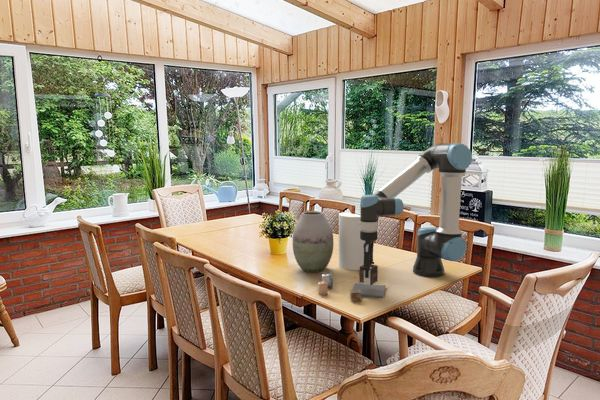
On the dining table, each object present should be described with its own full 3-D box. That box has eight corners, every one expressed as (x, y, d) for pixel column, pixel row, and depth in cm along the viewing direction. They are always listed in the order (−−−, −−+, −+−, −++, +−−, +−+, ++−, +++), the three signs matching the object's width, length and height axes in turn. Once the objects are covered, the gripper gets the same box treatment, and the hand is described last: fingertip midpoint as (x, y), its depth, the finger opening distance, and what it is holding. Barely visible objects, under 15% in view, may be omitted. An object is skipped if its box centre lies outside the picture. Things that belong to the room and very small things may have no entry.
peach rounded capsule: (328, 292, 187) (328, 281, 186) (326, 295, 183) (326, 284, 182) (319, 291, 188) (319, 281, 187) (317, 295, 184) (317, 283, 183)
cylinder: (352, 272, 215) (352, 218, 212) (332, 264, 230) (332, 213, 226) (377, 266, 225) (378, 214, 221) (356, 259, 239) (357, 210, 235)
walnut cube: (359, 298, 179) (359, 289, 179) (360, 302, 175) (361, 292, 175) (350, 298, 180) (350, 289, 179) (351, 302, 176) (351, 292, 175)
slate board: (385, 287, 192) (385, 285, 191) (383, 298, 178) (383, 296, 178) (354, 285, 195) (354, 283, 195) (350, 296, 182) (350, 293, 182)
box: (366, 279, 190) (366, 263, 189) (377, 281, 187) (378, 265, 186) (358, 282, 186) (359, 266, 185) (371, 285, 182) (371, 268, 181)
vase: (299, 262, 235) (298, 209, 231) (337, 265, 228) (337, 210, 224) (287, 273, 214) (286, 215, 210) (328, 277, 208) (328, 217, 204)
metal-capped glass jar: (333, 285, 196) (333, 273, 195) (331, 289, 191) (331, 276, 190) (323, 284, 197) (323, 272, 196) (320, 288, 192) (320, 275, 191)
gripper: (363, 225, 194) (362, 273, 197) (356, 235, 174) (356, 288, 177) (379, 226, 192) (379, 275, 195) (375, 236, 172) (374, 289, 175)
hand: (368, 281), depth 186 cm, fingers closed on box, 8 cm apart
